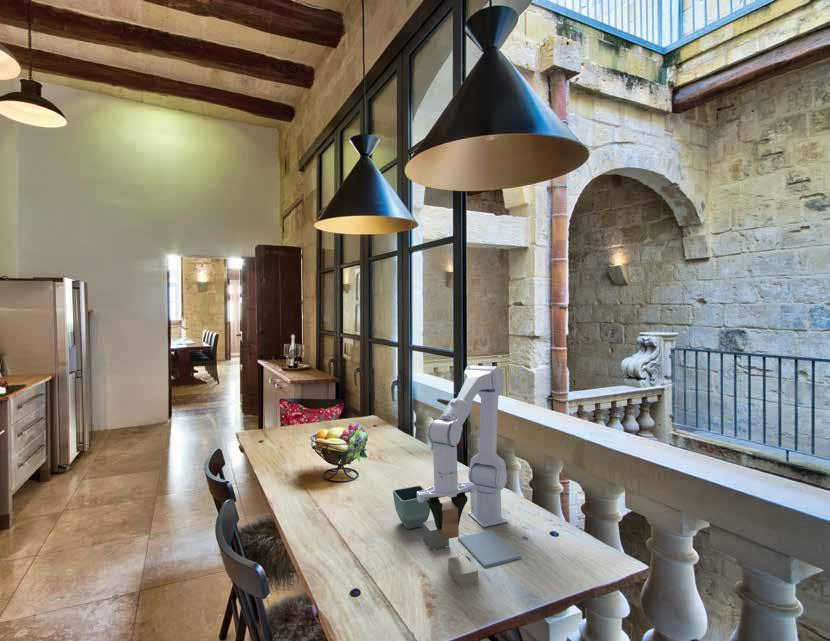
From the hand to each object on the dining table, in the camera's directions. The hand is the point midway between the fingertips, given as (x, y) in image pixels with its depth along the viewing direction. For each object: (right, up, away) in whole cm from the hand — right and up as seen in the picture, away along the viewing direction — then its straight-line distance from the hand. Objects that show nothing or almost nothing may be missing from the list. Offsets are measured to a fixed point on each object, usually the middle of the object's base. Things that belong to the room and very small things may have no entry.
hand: (447, 525), depth 108 cm
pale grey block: (+3, -8, -8) cm, 11 cm away
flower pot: (-8, -8, +18) cm, 22 cm away
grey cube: (-2, -8, +7) cm, 11 cm away
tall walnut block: (0, -2, 0) cm, 2 cm away
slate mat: (+11, -7, +4) cm, 13 cm away
